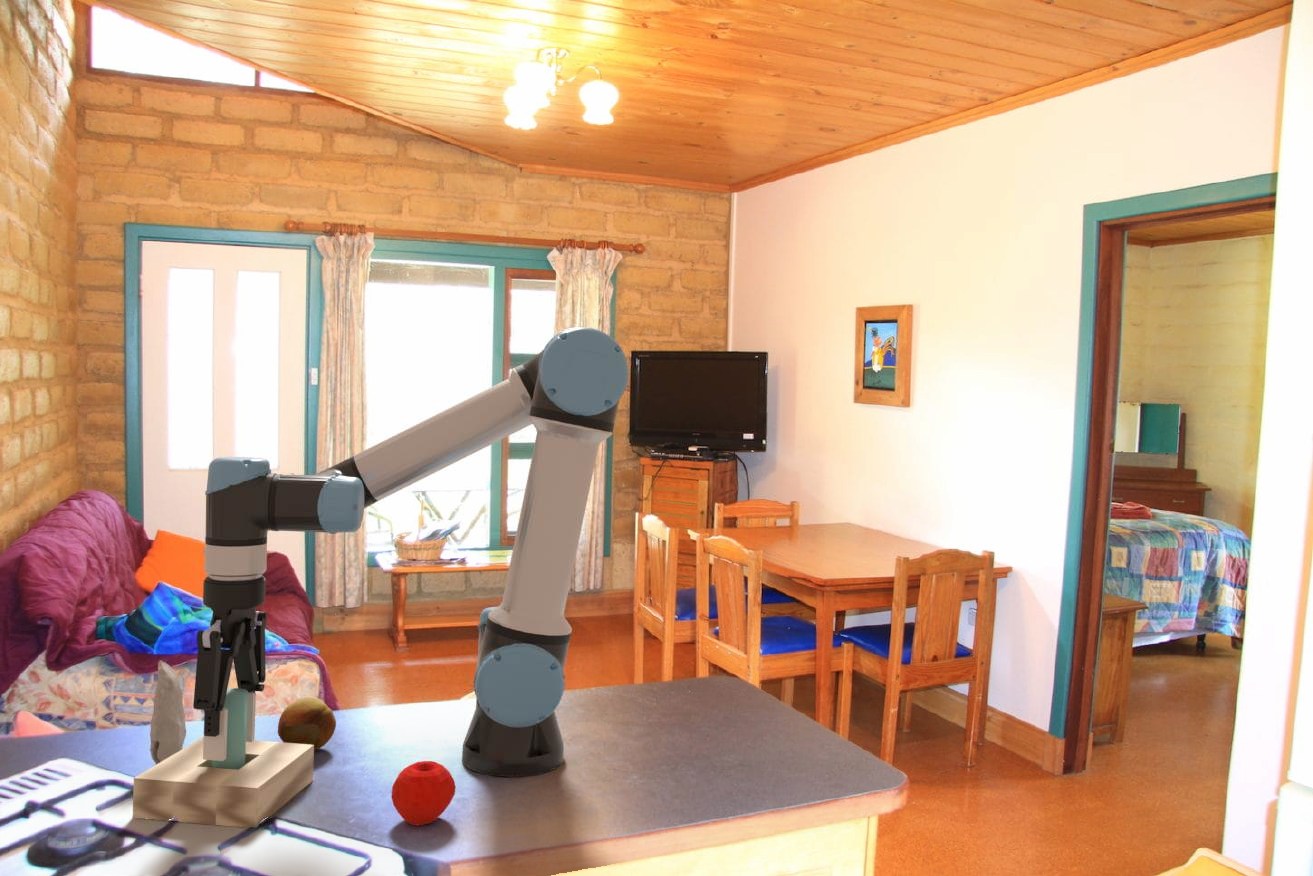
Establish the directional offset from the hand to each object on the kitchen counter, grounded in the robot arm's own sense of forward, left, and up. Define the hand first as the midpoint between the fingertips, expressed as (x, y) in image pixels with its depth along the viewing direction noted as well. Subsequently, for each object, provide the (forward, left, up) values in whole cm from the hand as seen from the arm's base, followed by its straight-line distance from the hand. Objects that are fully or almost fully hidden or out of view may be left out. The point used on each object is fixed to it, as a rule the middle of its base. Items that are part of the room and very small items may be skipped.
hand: (229, 749), depth 130 cm
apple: (-27, +2, -7) cm, 28 cm away
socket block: (0, 0, -6) cm, 6 cm away
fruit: (-2, -19, -7) cm, 20 cm away
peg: (0, 0, -6) cm, 6 cm away
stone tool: (+14, -9, -7) cm, 18 cm away
